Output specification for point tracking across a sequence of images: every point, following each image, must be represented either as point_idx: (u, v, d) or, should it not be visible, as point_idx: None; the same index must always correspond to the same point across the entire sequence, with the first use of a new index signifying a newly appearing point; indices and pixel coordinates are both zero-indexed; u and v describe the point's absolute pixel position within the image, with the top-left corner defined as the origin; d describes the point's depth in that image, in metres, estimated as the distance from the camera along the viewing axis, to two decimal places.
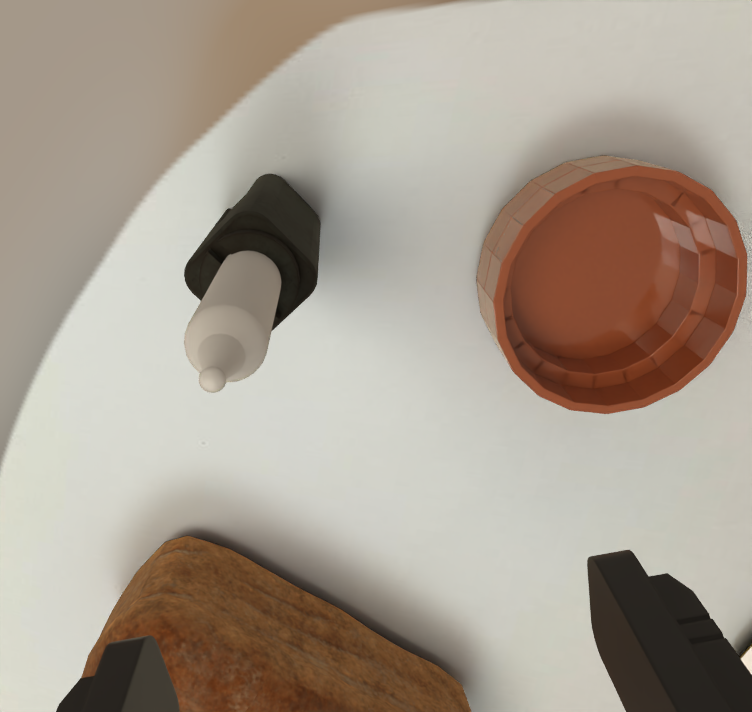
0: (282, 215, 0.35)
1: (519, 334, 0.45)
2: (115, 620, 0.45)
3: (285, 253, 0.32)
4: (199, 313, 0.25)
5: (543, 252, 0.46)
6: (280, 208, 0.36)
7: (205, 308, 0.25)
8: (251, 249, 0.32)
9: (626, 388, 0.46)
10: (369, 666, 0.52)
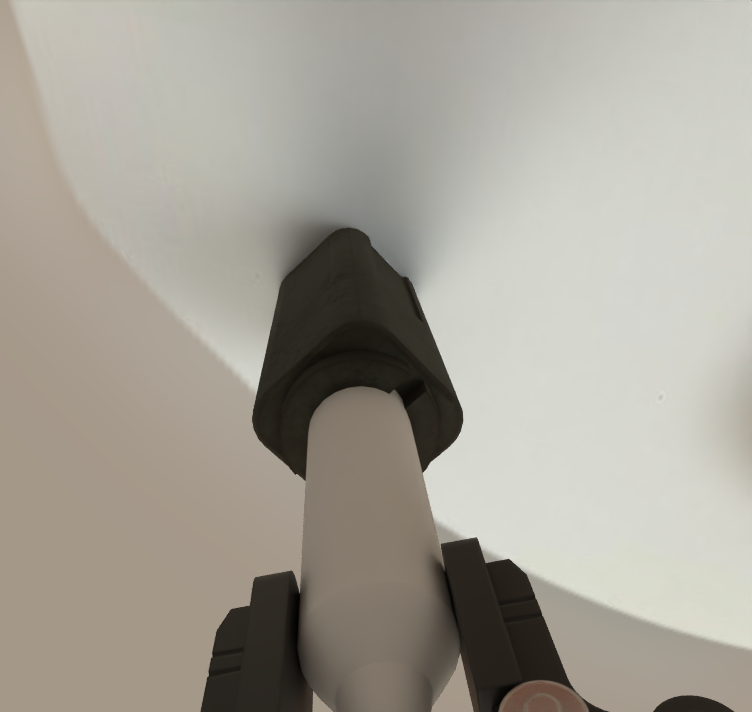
0: (284, 339, 0.23)
1: None
2: None
3: (311, 379, 0.19)
4: None
5: None
6: (282, 333, 0.24)
7: None
8: (306, 428, 0.20)
9: None
10: None
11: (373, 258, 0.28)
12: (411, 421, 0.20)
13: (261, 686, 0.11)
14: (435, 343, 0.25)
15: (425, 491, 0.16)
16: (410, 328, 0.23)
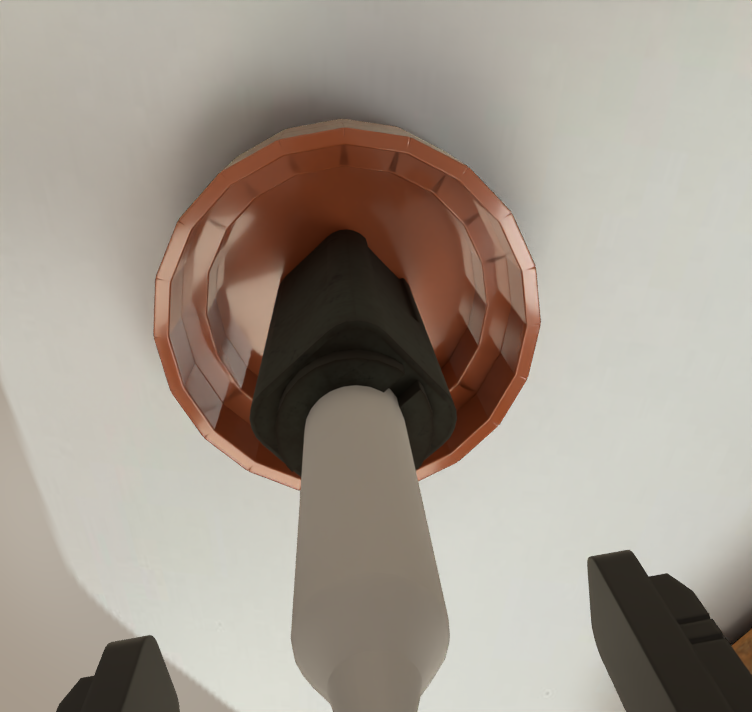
0: (282, 339, 0.23)
1: None
2: None
3: (307, 377, 0.20)
4: None
5: None
6: (279, 333, 0.25)
7: None
8: (302, 426, 0.20)
9: (510, 268, 0.29)
10: None
11: (370, 259, 0.28)
12: (405, 419, 0.20)
13: None
14: (430, 343, 0.26)
15: (418, 487, 0.17)
16: (405, 328, 0.23)
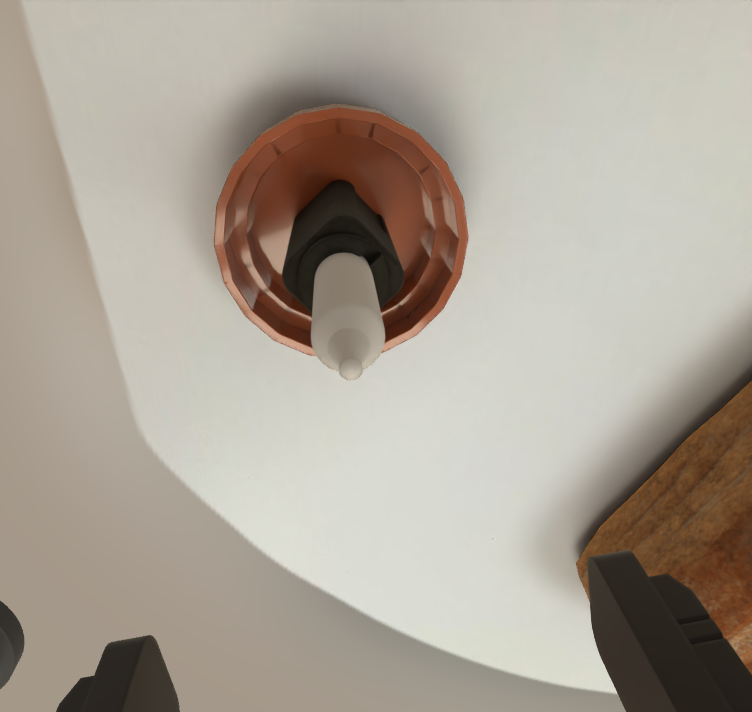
0: (299, 236, 0.38)
1: (389, 309, 0.47)
2: None
3: (316, 247, 0.34)
4: None
5: None
6: (297, 235, 0.39)
7: (315, 352, 0.28)
8: (313, 278, 0.35)
9: (449, 202, 0.44)
10: (742, 440, 0.51)
11: (355, 195, 0.43)
12: (373, 274, 0.35)
13: None
14: None
15: (375, 293, 0.31)
16: (375, 229, 0.38)
